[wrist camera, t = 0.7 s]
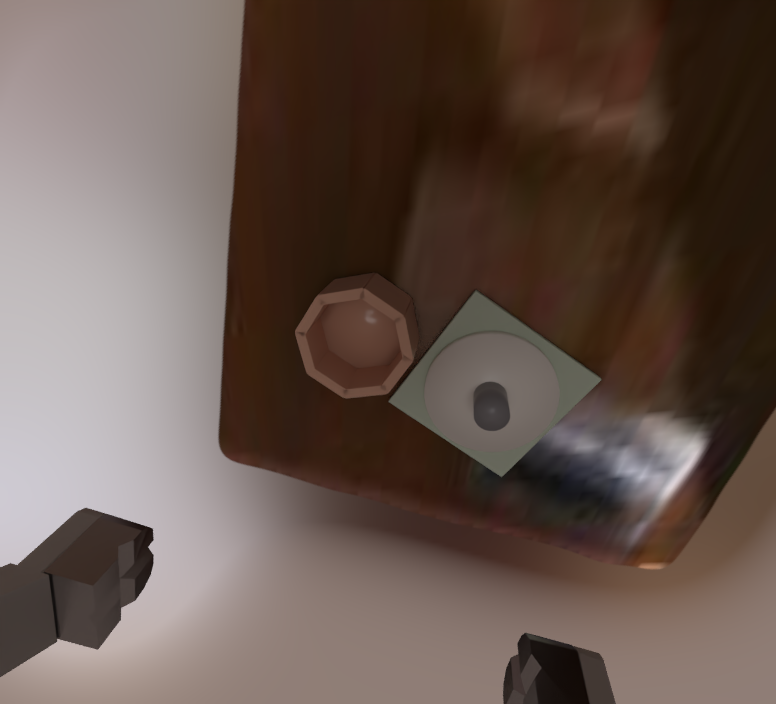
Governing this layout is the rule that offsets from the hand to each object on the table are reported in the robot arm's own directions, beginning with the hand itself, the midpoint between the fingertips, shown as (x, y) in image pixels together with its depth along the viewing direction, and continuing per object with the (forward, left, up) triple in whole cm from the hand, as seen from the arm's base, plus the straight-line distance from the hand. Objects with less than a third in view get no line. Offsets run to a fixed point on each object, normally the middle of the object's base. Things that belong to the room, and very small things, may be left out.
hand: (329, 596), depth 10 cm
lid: (+9, +13, -40) cm, 43 cm away
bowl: (+11, -2, -40) cm, 42 cm away
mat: (+9, +13, -40) cm, 43 cm away
